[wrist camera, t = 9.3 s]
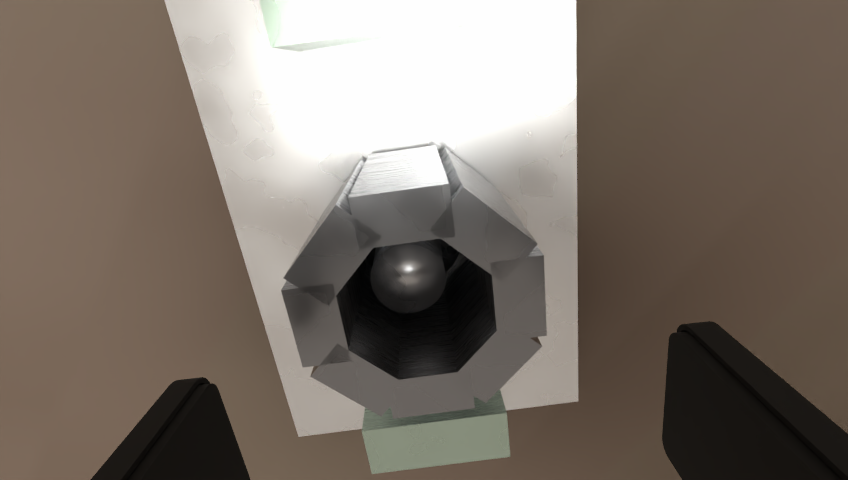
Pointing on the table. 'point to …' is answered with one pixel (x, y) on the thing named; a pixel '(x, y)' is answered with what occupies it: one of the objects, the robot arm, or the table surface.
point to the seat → (382, 132)
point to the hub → (434, 326)
